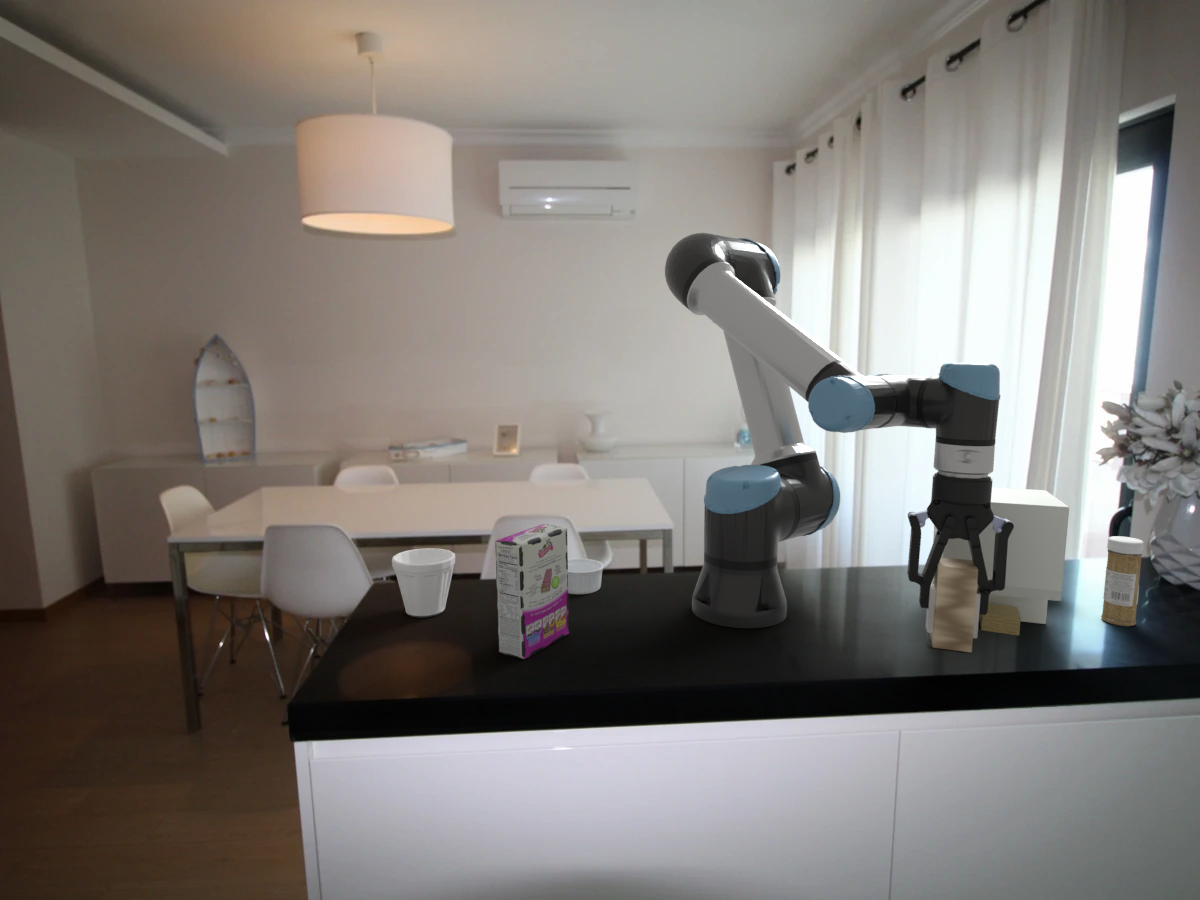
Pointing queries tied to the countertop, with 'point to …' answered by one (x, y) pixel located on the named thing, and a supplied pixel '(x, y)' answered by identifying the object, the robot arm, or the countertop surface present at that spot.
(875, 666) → the countertop surface
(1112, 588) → the sprinkles bottle
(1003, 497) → the cabinet
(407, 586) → the cup
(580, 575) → the ramekin
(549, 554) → the candy bar box
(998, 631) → the small wooden block
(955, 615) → the wooden rectangular block
